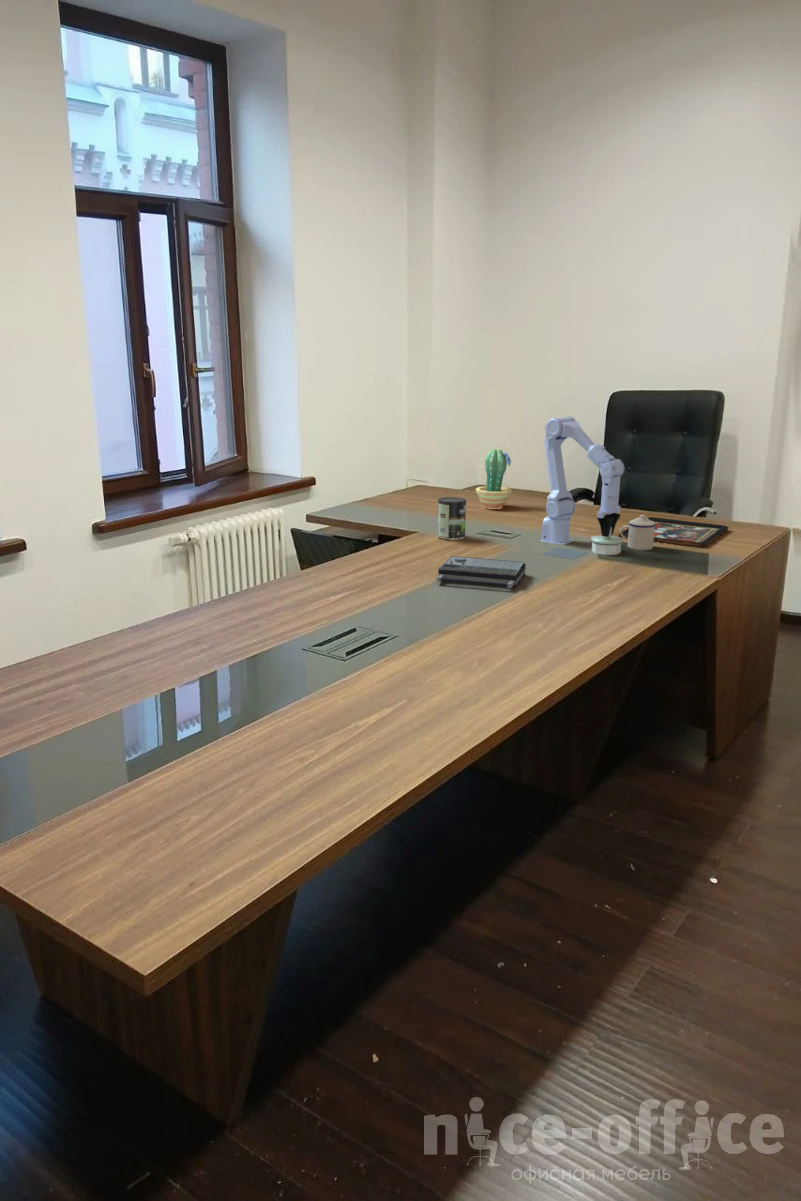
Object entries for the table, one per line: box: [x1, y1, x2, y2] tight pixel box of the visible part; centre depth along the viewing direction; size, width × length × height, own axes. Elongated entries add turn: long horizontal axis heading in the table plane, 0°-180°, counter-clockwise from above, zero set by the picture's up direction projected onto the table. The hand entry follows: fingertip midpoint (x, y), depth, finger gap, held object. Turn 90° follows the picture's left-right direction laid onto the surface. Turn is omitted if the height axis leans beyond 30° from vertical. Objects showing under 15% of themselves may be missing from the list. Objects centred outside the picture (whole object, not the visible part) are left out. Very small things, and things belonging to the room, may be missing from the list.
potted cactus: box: [475, 448, 513, 508], centre depth 379 cm, size 15×15×25 cm
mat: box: [541, 547, 590, 560], centre depth 304 cm, size 12×12×1 cm
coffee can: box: [437, 496, 467, 539], centre depth 326 cm, size 10×10×14 cm
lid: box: [590, 527, 623, 545], centre depth 305 cm, size 10×10×5 cm
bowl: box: [591, 542, 622, 556], centre depth 306 cm, size 9×9×4 cm
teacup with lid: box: [619, 514, 655, 551], centre depth 313 cm, size 12×9×12 cm
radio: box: [436, 555, 527, 589], centre depth 273 cm, size 24×5×20 cm
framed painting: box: [617, 516, 729, 549], centre depth 335 cm, size 38×35×3 cm
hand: (607, 535), depth 305 cm, fingers closed on lid, 3 cm apart
